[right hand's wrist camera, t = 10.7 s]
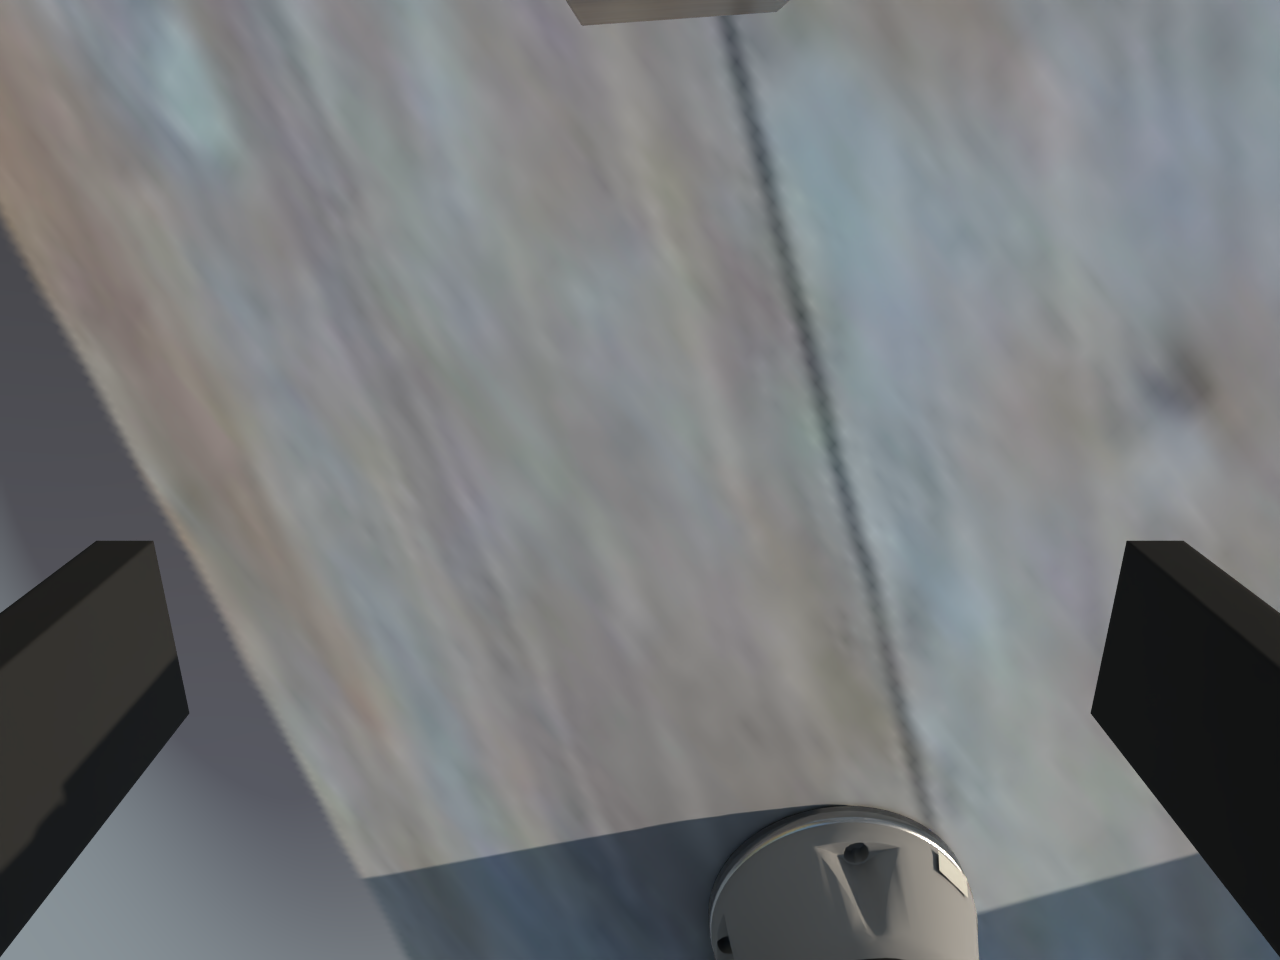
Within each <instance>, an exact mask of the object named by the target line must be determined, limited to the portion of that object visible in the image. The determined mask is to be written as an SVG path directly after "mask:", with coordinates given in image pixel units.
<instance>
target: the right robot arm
mask: <svg viewBox="0 0 1280 960" xmlns="http://www.w3.org/2000/svg"><path fill="white" fill-rule="evenodd" d="M188 714H189V709H188V705H187V700H186V695H185V690H184V685H183V681H182V676H181V671H180V666H179V662H178V657H177V652H176V647H175V642H174V638H173V633H172V628H171V623H170V619H169V614H168V609H167V604H166V600H165V595H164V590H163V585H162V581H161V576H160V571H159V566H158V561H157V556H156V552H155V547H154V542H153V541H96V542H94V543H93V544H92V545H90V546H89V547H88V548H86V549H85V550H84V551H82V552H81V553H80V554H78V555H77V556H76V557H74V558H73V559H72V560H70V561H69V562H68V563H66V564H65V565H64V566H62V567H61V568H60V569H58V570H57V571H56V572H54V573H53V574H52V575H51V576H49V577H48V578H46V579H45V580H44V581H43V582H41V583H40V584H38V585H37V586H36V587H34V588H33V589H32V590H31V591H29V592H28V593H26V594H25V595H24V596H22V597H21V598H20V599H19V600H17V601H16V602H15V603H13V604H12V605H11V606H9V607H8V608H6V609H5V610H4V611H3V612H1V613H0V957H1V955H2V954H3V953H4V951H5V950H6V949H7V948H8V946H9V945H10V944H11V942H12V941H13V940H14V939H15V937H16V936H17V935H18V933H19V932H20V931H21V930H22V928H23V927H24V926H25V924H26V923H27V922H28V921H29V919H30V918H31V917H32V915H33V914H34V913H35V912H36V910H37V909H38V908H39V906H40V905H41V904H42V902H43V901H44V900H45V899H46V897H47V896H48V895H49V893H50V892H51V891H52V890H53V888H54V887H55V886H56V884H57V883H58V882H59V881H60V879H61V878H62V877H63V875H64V874H65V873H66V872H67V870H68V869H69V868H70V866H71V865H72V864H73V863H74V861H75V860H76V859H77V857H78V856H79V855H80V853H81V852H82V851H83V850H84V848H85V847H86V846H87V845H88V843H89V842H90V841H91V839H92V838H93V837H94V835H95V834H96V833H97V832H98V830H99V829H100V828H101V826H102V825H103V824H104V823H105V821H106V820H107V819H108V817H109V816H110V815H111V814H112V812H113V811H114V810H115V808H116V807H117V806H118V805H119V803H120V802H121V801H122V799H123V798H124V797H125V796H126V794H127V793H128V792H129V790H130V789H131V788H132V787H133V785H134V784H135V783H136V781H137V780H138V779H139V777H140V776H141V775H142V774H143V772H144V771H145V770H146V768H147V767H148V766H149V765H150V763H151V762H152V761H153V759H154V758H155V757H156V756H157V754H158V753H159V752H160V750H161V749H162V748H163V747H164V745H165V744H166V743H167V741H168V740H169V739H170V738H171V736H172V735H173V734H174V732H175V731H176V730H177V728H178V727H179V726H180V725H181V723H182V722H183V721H184V719H185V718H186V717H187V716H188ZM1091 714H1092V716H1093V717H1094V718H1095V719H1096V721H1097V722H1098V723H1099V725H1100V726H1101V727H1102V728H1103V730H1104V731H1105V732H1106V734H1107V735H1108V736H1109V738H1110V739H1111V740H1112V741H1113V743H1114V744H1115V745H1116V747H1117V748H1118V749H1119V750H1120V752H1121V753H1122V754H1123V756H1124V757H1125V758H1126V759H1127V761H1128V762H1129V763H1130V765H1131V766H1132V767H1133V768H1134V770H1135V771H1136V772H1137V774H1138V775H1139V776H1140V777H1141V779H1142V780H1143V781H1144V783H1145V784H1146V785H1147V787H1148V788H1149V789H1150V790H1151V792H1152V793H1153V794H1154V796H1155V797H1156V798H1157V799H1158V801H1159V802H1160V803H1161V805H1162V806H1163V807H1164V808H1165V810H1166V811H1167V812H1168V814H1169V815H1170V816H1171V817H1172V819H1173V820H1174V821H1175V823H1176V824H1177V825H1178V826H1179V828H1180V829H1181V830H1182V832H1183V833H1184V834H1185V835H1186V837H1187V838H1188V839H1189V841H1190V842H1191V843H1192V845H1193V846H1194V847H1195V848H1196V850H1197V851H1198V852H1199V854H1200V855H1201V856H1202V857H1203V859H1204V860H1205V861H1206V863H1207V864H1208V865H1209V866H1210V868H1211V869H1212V870H1213V872H1214V873H1215V874H1216V875H1217V877H1218V878H1219V879H1220V881H1221V882H1222V883H1223V884H1224V886H1225V887H1226V888H1227V890H1228V891H1229V892H1230V893H1231V895H1232V896H1233V897H1234V899H1235V900H1236V901H1237V903H1238V904H1239V905H1240V906H1241V908H1242V909H1243V910H1244V912H1245V913H1246V914H1247V915H1248V917H1249V918H1250V919H1251V921H1252V922H1253V923H1254V924H1255V926H1256V927H1257V928H1258V930H1259V931H1260V932H1261V933H1262V935H1263V936H1264V937H1265V939H1266V940H1267V941H1268V942H1269V944H1270V945H1271V946H1272V948H1273V949H1274V950H1275V951H1276V953H1277V954H1278V955H1279V957H1280V613H1279V612H1277V611H1276V610H1275V609H1274V608H1272V607H1271V606H1270V605H1268V604H1267V603H1266V602H1264V601H1263V600H1262V599H1260V598H1259V597H1258V596H1256V595H1255V594H1254V593H1252V592H1251V591H1250V590H1248V589H1247V588H1246V587H1244V586H1243V585H1242V584H1240V583H1239V582H1238V581H1236V580H1235V579H1234V578H1232V577H1231V576H1230V575H1228V574H1227V573H1226V572H1224V571H1223V570H1222V569H1220V568H1219V567H1218V566H1216V565H1215V564H1214V563H1212V562H1211V561H1210V560H1208V559H1207V558H1206V557H1204V556H1203V555H1202V554H1200V553H1199V552H1198V551H1196V550H1195V549H1194V548H1192V547H1191V546H1190V545H1188V544H1187V543H1186V542H1184V541H1127V542H1126V547H1125V552H1124V556H1123V561H1122V566H1121V571H1120V575H1119V580H1118V585H1117V590H1116V595H1115V599H1114V604H1113V609H1112V614H1111V618H1110V623H1109V628H1108V633H1107V638H1106V642H1105V647H1104V652H1103V657H1102V662H1101V666H1100V671H1099V676H1098V681H1097V685H1096V690H1095V695H1094V700H1093V705H1092V709H1091ZM709 928H710V938H711V944H712V948H713V952H714V956H715V960H979V951H978V920H977V913H976V909H975V904H974V900H973V896H972V892H971V889H970V886H969V884H968V882H967V878H966V877H965V875H964V873H963V870H962V868H961V866H960V864H959V862H958V860H957V858H956V857H955V855H954V853H953V852H952V851H951V850H950V848H949V847H948V846H947V845H946V844H945V843H944V842H943V841H942V840H941V839H940V838H939V837H938V836H937V835H936V834H934V833H933V832H932V831H931V830H929V829H928V828H926V827H924V826H923V825H921V824H920V823H918V822H916V821H914V820H912V819H910V818H907V817H905V816H902V815H900V814H896V813H893V812H890V811H886V810H881V809H876V808H869V807H861V806H835V807H826V808H819V809H814V810H809V811H805V812H802V813H798V814H795V815H792V816H789V817H787V818H784V819H782V820H780V821H777V822H775V823H773V824H771V825H769V826H768V827H766V828H764V829H762V830H761V831H759V832H758V833H756V834H755V835H753V836H752V837H750V838H749V839H748V840H747V841H746V842H744V843H743V844H742V845H741V846H740V847H739V848H738V849H737V850H736V851H735V852H734V853H733V854H732V855H731V856H730V858H729V859H728V860H727V861H726V863H725V864H724V866H723V867H722V869H721V871H720V872H719V874H718V876H717V878H716V880H715V883H714V886H713V888H712V891H711V896H710V900H709Z"/></svg>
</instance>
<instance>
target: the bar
mask: <svg viewBox="0 0 1280 960" xmlns="http://www.w3.org/2000/svg"><path fill="white" fill-rule="evenodd" d="M566 1H567V3H568V5H569V6H570V8H571V9H572V11H573V12H574V14H575V16H576V17H577V19H578V20H579V22H580V24H581V25H597V24H611V23H626V22H640V21H654V20H668V19H682V18H697V17H711V16H725V15H739V14H753V13H768V12H777V11H778V10H779V9H780V8H782V7H783V6H784V5H785V4H786V3H787V2H788V1H789V0H566Z"/></svg>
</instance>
